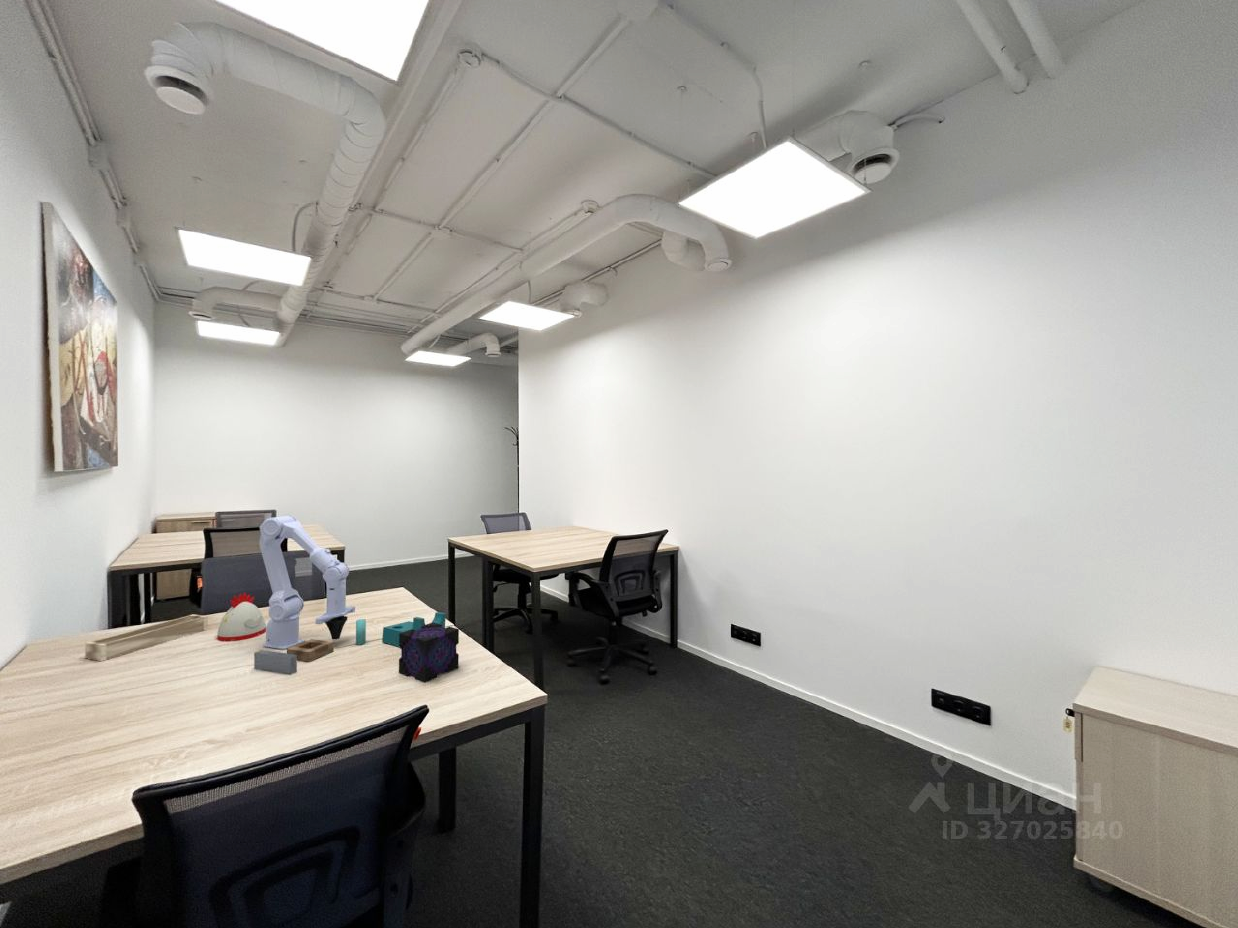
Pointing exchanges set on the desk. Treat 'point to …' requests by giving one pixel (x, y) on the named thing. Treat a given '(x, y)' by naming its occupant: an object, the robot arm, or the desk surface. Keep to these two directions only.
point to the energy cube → (428, 651)
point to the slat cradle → (144, 637)
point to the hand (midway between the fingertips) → (335, 638)
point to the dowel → (360, 631)
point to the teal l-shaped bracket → (408, 628)
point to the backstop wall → (275, 662)
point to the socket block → (311, 649)
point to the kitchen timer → (241, 621)
